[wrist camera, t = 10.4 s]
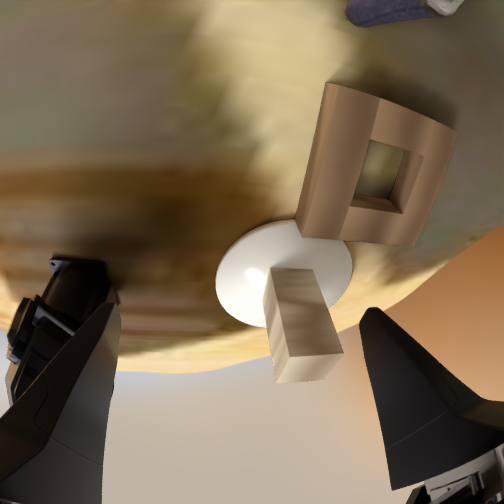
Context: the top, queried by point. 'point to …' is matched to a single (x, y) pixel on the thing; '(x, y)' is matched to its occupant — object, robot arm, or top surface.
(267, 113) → the top surface
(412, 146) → the holder
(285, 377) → the block
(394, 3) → the flask
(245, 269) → the plate
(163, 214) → the top surface
